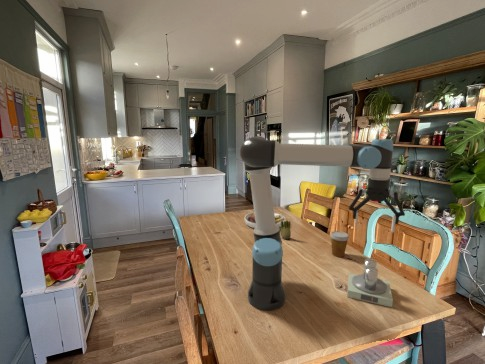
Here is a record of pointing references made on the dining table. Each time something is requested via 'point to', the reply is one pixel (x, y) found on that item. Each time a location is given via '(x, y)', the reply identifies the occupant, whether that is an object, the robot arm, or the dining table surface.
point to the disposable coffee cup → (339, 243)
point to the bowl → (252, 223)
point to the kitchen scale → (369, 291)
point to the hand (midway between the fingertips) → (373, 228)
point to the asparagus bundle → (285, 230)
